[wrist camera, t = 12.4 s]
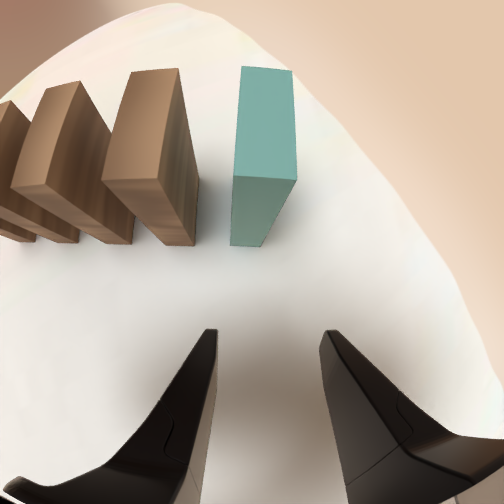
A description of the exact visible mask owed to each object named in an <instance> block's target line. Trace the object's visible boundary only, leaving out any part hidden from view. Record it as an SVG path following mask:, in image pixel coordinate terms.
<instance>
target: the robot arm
mask: <svg viewBox="0 0 504 504" xmlns="http://www.w3.org/2000/svg"><path fill="white" fill-rule="evenodd" d="M319 353H320V361H321V370H322V378H323V386H324V391H325V396H326V400H327V404H328V409H329V413H330V417H331V422H332V426H333V430H334V435H335V439H336V444H337V448H338V453H339V458H340V462H341V467H342V472H343V477H344V482H345V486H346V492H347V498H348V503H349V504H504V439H488V438H477V437H468V436H460V435H457V434H454V433H452V432H450V431H449V430H447V429H446V428H445V427H443V426H442V425H441V424H439V423H438V422H437V421H435V420H434V419H433V418H432V417H430V416H429V415H428V414H426V413H425V412H424V411H423V410H421V409H420V408H419V407H418V406H417V405H415V404H414V403H413V402H412V401H411V400H410V399H409V398H408V397H407V396H406V395H404V394H403V393H402V392H401V391H400V390H399V389H398V388H397V387H396V386H395V385H394V384H393V383H392V382H391V381H390V380H389V379H388V378H387V377H386V376H385V375H384V374H382V373H381V372H380V371H379V370H378V369H377V368H376V367H375V366H374V365H373V364H372V363H371V362H370V361H369V360H368V359H367V358H366V357H365V356H364V355H363V354H362V353H361V352H360V351H358V350H357V349H356V348H355V347H354V346H353V345H352V344H351V343H350V342H349V341H348V340H347V339H346V338H345V337H344V336H343V335H342V334H341V333H340V332H339V331H337V330H326V331H325V332H324V335H323V338H322V340H321V343H320V347H319ZM217 366H218V330H217V329H206V330H205V331H204V332H203V334H202V335H201V337H200V338H199V340H198V341H197V343H196V344H195V346H194V348H193V349H192V351H191V352H190V354H189V355H188V357H187V358H186V360H185V361H184V363H183V364H182V366H181V367H180V369H179V370H178V372H177V374H176V375H175V377H174V378H173V380H172V381H171V383H170V384H169V386H168V387H167V389H166V390H165V392H164V393H163V395H162V396H161V398H160V400H159V401H158V402H157V404H156V405H155V407H154V408H153V410H152V411H151V413H150V414H149V415H148V417H147V418H146V420H145V421H144V422H143V423H142V424H141V426H140V427H139V428H138V429H137V430H136V432H135V433H134V434H133V435H132V436H131V437H130V438H129V439H128V440H127V442H126V443H125V444H124V445H123V446H122V447H121V448H120V449H119V450H118V451H117V453H116V454H115V455H114V456H113V457H112V458H111V459H110V460H108V461H107V462H106V463H105V464H103V465H102V466H100V467H98V468H96V469H94V470H91V471H89V472H87V473H85V474H83V475H80V476H78V477H76V478H73V479H71V480H68V481H66V482H64V483H61V484H58V485H55V486H42V485H39V484H37V483H35V482H32V481H30V480H28V479H26V478H24V477H21V476H18V477H16V478H15V479H13V480H11V481H10V482H9V483H7V484H6V486H5V487H4V488H3V491H4V492H6V493H7V494H9V495H10V496H12V497H14V498H16V499H17V500H19V501H21V502H23V503H25V504H200V498H201V497H200V496H201V491H202V484H203V477H204V470H205V464H206V457H207V450H208V444H209V437H210V431H211V424H212V418H213V412H214V405H215V399H216V392H217ZM0 504H16V503H14V502H12V501H10V500H9V499H7V498H5V497H3V496H1V495H0Z"/></svg>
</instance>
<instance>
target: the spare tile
mask: <svg viewBox="0 0 504 504" xmlns="http://www.w3.org/2000/svg"><path fill="white" fill-rule="evenodd" d="M296 181H297V160H296V133H295V112H294V95H293V79H292V71H289V70H280V69H271V68H261V67H248V66H242V67H241V79H240V91H239V103H238V116H237V129H236V143H235V158H234V173H233V192H232V213H231V236H230V246H250V247H260V246H261V244H262V242H263V240H264V239H265V237H266V235H267V233H268V231H269V230H270V228H271V226H272V224H273V222H274V221H275V219H276V217H277V215H278V213H279V212H280V210H281V208H282V206H283V204H284V203H285V201H286V199H287V197H288V195H289V194H290V192H291V190H292V188H293V186H294V185H295V183H296Z"/></svg>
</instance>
